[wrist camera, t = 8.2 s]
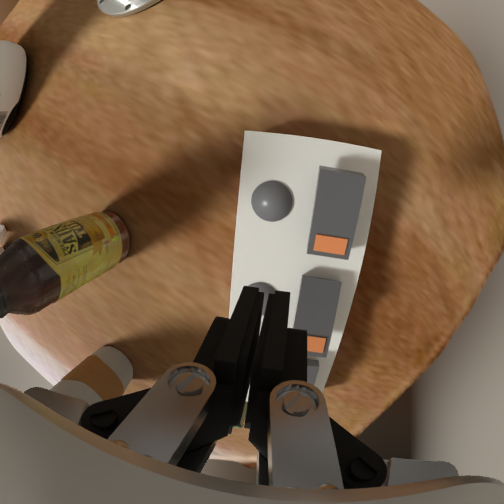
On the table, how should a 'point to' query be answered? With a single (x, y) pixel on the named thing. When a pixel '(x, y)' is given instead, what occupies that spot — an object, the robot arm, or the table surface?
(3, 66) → the milk container
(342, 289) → the rocker switch panel
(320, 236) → the rocker
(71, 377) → the coffee cup
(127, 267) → the table surface
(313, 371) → the rocker
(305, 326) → the rocker middle
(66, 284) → the sauce bottle
